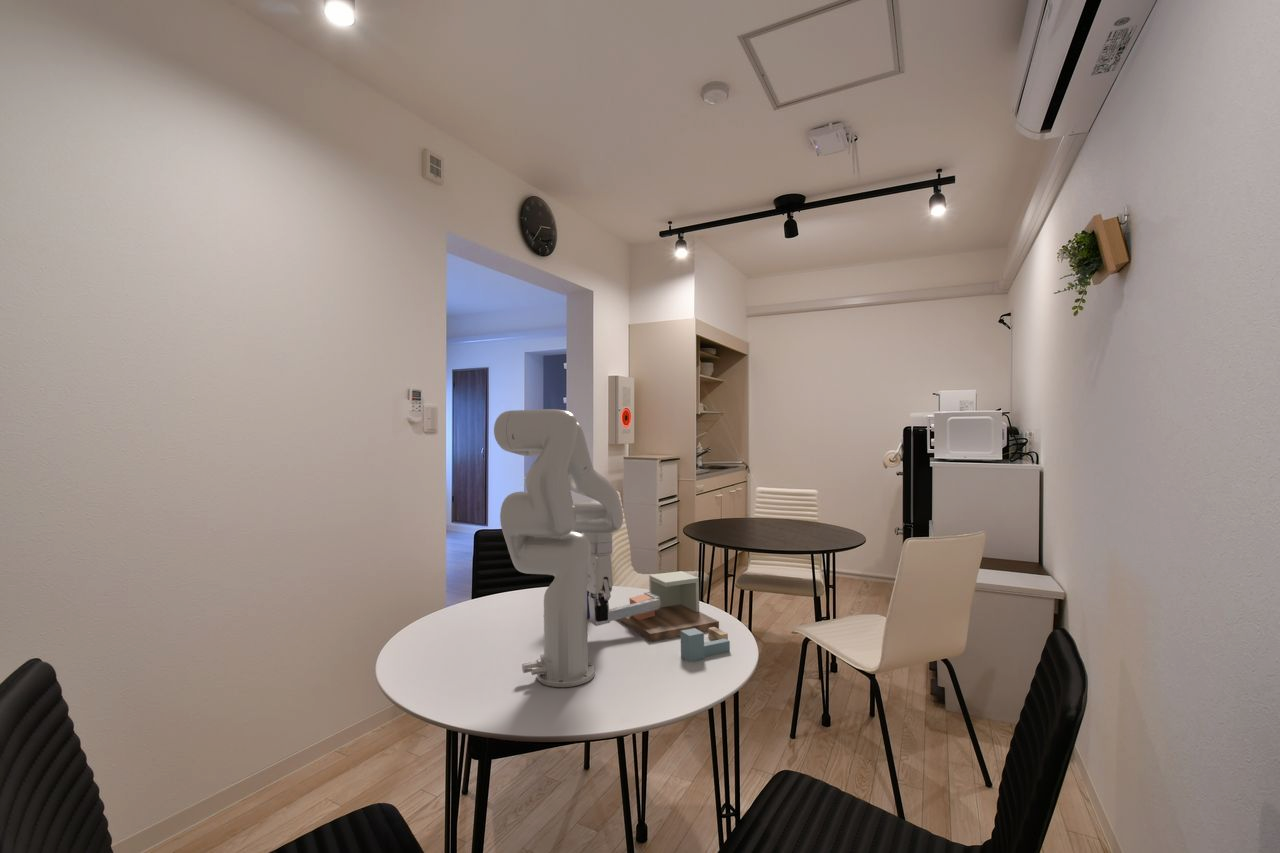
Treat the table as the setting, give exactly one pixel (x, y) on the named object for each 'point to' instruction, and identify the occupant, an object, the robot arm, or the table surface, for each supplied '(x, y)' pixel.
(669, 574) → the cubby
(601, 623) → the crook
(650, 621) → the deck
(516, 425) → the robot arm
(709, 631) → the short block
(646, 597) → the cube
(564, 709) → the table surface
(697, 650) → the light blue l-shaped block
